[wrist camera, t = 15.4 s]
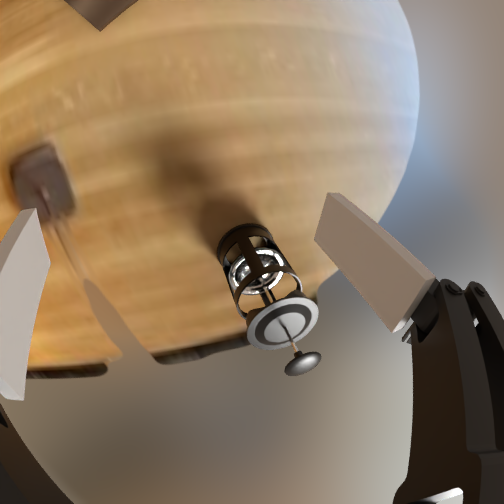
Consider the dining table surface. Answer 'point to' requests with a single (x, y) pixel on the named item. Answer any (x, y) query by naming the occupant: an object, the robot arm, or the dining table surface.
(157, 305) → the dining table surface
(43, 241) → the robot arm
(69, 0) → the brown flat square slab
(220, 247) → the french press
